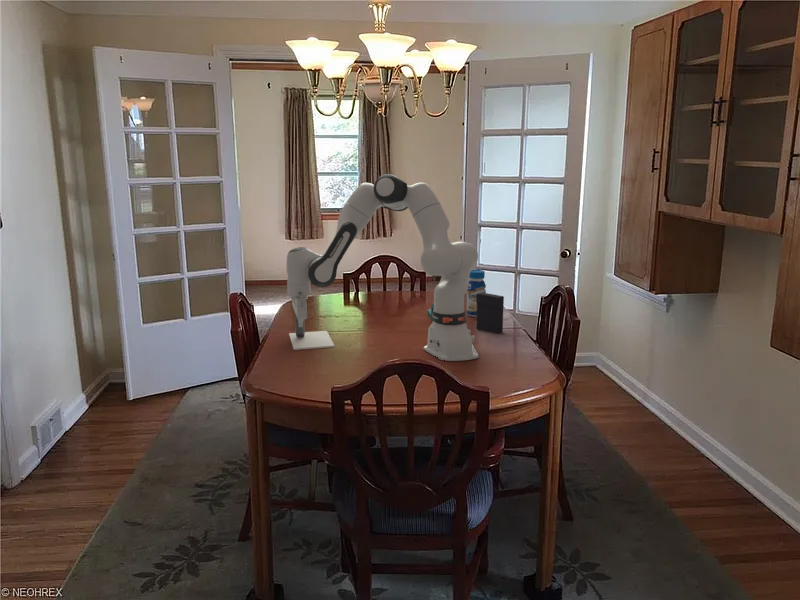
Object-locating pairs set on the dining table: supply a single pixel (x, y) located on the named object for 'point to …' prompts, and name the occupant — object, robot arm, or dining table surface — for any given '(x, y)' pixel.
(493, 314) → the upright charcoal panel
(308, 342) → the paper
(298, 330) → the marker
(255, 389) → the dining table surface
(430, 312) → the bracket
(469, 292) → the beverage bottle
